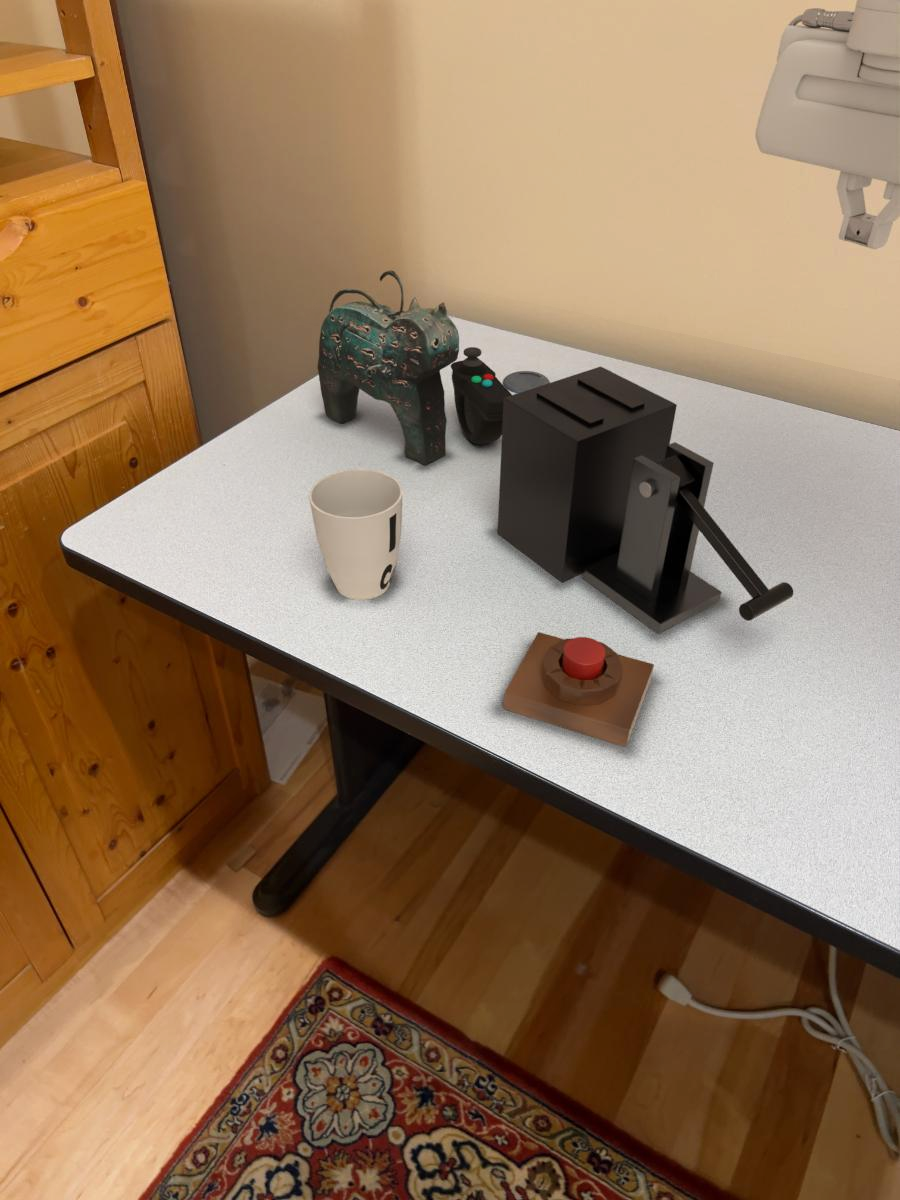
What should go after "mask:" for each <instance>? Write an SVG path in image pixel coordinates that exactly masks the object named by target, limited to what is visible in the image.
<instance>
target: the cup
mask: <svg viewBox="0 0 900 1200" xmlns="http://www.w3.org/2000/svg"><path fill="white" fill-rule="evenodd" d="M308 499H309V505H310V508H311V509H310V510H311V515H312V519H313V520H312V521H313V526H314V531H315V537H316V540H317V543H318V546H319V549H320V552H321V556H322V558H323V563H324V566H325V568H326V570H327V573H328V574H329V576H330V578H331V580H332V582H333V584H334V586H335V588H336V590H337V592H338V593H339V594H340V595H342V596H343V597H344V598H347V599H350V600H353V601H354V600H355V601H367V600H371V599H375V598H378V597H380V596H382V595H383V594H384V593H386V592H387V590H388V589H389V588H390V585H391V582H392V578H393V576H394V573H395V570H396V568H397V567H396V566H397V563H398V557H399V549H400V543H401V538H402V527H403V526H402V525H403V523H402V522H403V487H402V484H401V483H400V482H399V481H398V480H397V479H396V478H395V477H394V476H391V475H390V474H387V473H385V472H383V471H380V470H374V469H367V468H353V469H345V470H341V471H340V470H339V471H336V472H334V473H330V474H327V475H326V476H323V477H322V478H320V479H319V480H317V481H316V482H315V483H314V484H313V485H312V487H310V490H309V494H308Z"/></svg>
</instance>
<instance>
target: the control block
mask: <svg viewBox="0 0 900 1200" xmlns="http://www.w3.org/2000/svg"><path fill="white" fill-rule="evenodd" d="M573 638H574V637H573ZM573 638H561V637H558V636H554V635H550V634H547V633H543V632H540V631H538V632H537V633H536V635H535V637H534V638H533V640H532V643H531V644H530V646H529V648H528V649H527V652H525V655H524V657H523V659H522V661H521V662H520V664H519V667H518V668H517V670H516V671H515V673H514V675H513V677H512V679H511V681H510V683H508V685H507V688H506V690H505V692H504V699H503V701H504V702H503V703H504V704H503V710H505V711H508V712H512V713H515V714H518V715H521V716H524V717H526V718H527V717H528V718H531V719H534V720H537V721H540V722H543V723H547V724H550V725H554V726H556V727H559V728H563V729H565V730H569V731H572V732H575V733H578V734H582V735H586V736H588V737H591V738H594V739H598V740H601V741H604V742H608V743H610V744H614V745H618V746H621V747H623V748H627V746H628V744H629V741H630V738H631V736H632V733H633V730H634V728H635V725H636V722H637V720H638V716H639V714H640V711H641V709H642V706H643V703H644V700H645V698H646V695H647V692H648V691H649V687H650V684H651V681H652V678H653V672H654V667H655V664H654V663H650V662H647V661H643V660H640V659H637V658H633V657H629V656H626V655H622V654H618V653H617V652H616V651H615V650H614V649H612V648H611V647H610V646H608V645H607V644H605V643H604V642H602V641H598V642H599V643H600V644H602V646H603V647H604V649H605V659H604V665H603V671H602V673H601V674H600V676H598V677H597V678H595V679H592V680H579V679H575V678H572V677H570V676H569V675H567V674H566V673H565V672H564V670H563V667H562V661H563V653H564V646H565V644H566V643H567V642H568V641H569V640H571V639H573Z"/></svg>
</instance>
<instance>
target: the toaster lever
mask: <svg viewBox="0 0 900 1200" xmlns="http://www.w3.org/2000/svg"><path fill="white" fill-rule="evenodd" d="M657 464H658V465H660V466H662V467H664V468H665V469H667V470H669V471H671V472H673V473H674V474H676V475H678V476H680V483H679V488H678V493H677V498H676V501H677V502H678V503H679V505H680V506H681V507H682V509H683V510H684V511H685V512H686V514H687V515H688V516H689V518H690V519H691V520H692V521H693V523H694V524H695V525H696V526H697V528H698V529H699V533H701V534H702V535H703V537H704V538H705V540H706V541H707V542H708V543H709V544H710V546H711V547H712V548H713V550H714V551H715V552H716V553H717V555H718V556H719V557H720V558H721V560H722V561H723V563H724V564H725V565H726V566H727V567H728V569H729V570H730V571H731V573H732V574H733V575H734V577H735V578H736V579H737V580H738V582H739V583H740V585H742V587H743V589H745V591H746V592H747V593H748V594H749V596H750V597H751V598H750V599H749V600H747V601H745V602H744V603H742V604H740V605H739V606H738V613H739V615H740V616H741V618H742V619H743V620H745V621H747V622H750V621H752V620H754V619H756V618H758V617H760V616H762V615H763V614H765V613H767V612H769V611H771V610H772V609H774V608H776V607H777V606H779V605H781V604H782V603H785V602H786V601H788V600H790V599H791V598H793V597H794V589H793V586H792V585H791V584H790V583H789V582H785V581H782V582H780V583H778V584H776V585H774V586H772V587H771V588H769V587H768V586H766V584H765V582H763V580H762V579H761V578H760V577H759V575H758V574H757V572H756V571H755V570H754V569H753V568H752V566H751V565H750V564H749V563H748V561H747V559H745V558H744V556H743V555H742V554H741V553H740V551H739V550H738V549H737V548H736V546H735V545H734V544H733V542H732V540H730V539H729V537H728V536H727V534H726V533H725V532H724V531H723V530H722V528H721V527H720V526H719V525H718V523H717V522H716V520H714V518H713V517H712V516H711V514H709V512H708V511H707V510H706V508H705V506H704V507H703V506H702V505H701V503H700V502H699V501H698V500H697V498H696V497H695V496H694V495H693V493H692V492H691V491H690V490H689V487H690V485H691V484H692V483H693V482H694V480H695V478H694V477H693V476H692V474H691V473H690V472H689V471H688V469H687V468H686V467H685V466H684V464H683V463H682V462H681V461H680V459H679V458H678V457H677V456H676V455H674V456H672V457H669V458H667V459H665V460H662V461H660V462H658V463H657Z"/></svg>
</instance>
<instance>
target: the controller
mask: <svg viewBox="0 0 900 1200" xmlns="http://www.w3.org/2000/svg"><path fill="white" fill-rule="evenodd" d="M463 355H464V356H465V357H466V358H465V359H463V360H458V361H454V362H453V363H451V364H450V368H451V370H452V372H451V381H452V387H453V397H454V405H455V411H456V415H457V418H458V420H457V421H458V423H459V426H460V428H461V431H462V433H463V435H464V436H465V438H466V439H467V440H468V441H470V442H471V443H473V444H476V445H484V444H488V443H493V442H496V441H498V440H499V439H500V438H502V426H503V405H504V398H505V397H508V396H511V395H513V394H512V393H511V392H510V390H509V389H507V387H506V386H504V384H503V383H502V382H501V380H499V379H498V378H497V376H496V374H497V373H496V372H495V371H494V370H493V369H491V367H490V366H489V365H488V364H486V363H485V362H484V361H482V360H481V359H480V358H478V357H480V356H482V349H480V348H479V347H475V346H471V347H466V348H464V349H463Z"/></svg>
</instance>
